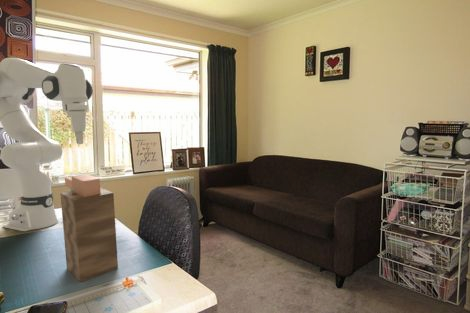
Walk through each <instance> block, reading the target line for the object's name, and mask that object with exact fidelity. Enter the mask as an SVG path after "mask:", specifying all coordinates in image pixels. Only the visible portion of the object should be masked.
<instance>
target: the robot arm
mask: <svg viewBox="0 0 470 313" xmlns="http://www.w3.org/2000/svg"><path fill="white" fill-rule="evenodd" d="M36 89H41V91H42V93H43V95H44V97H46V98H47V100H48V99H49V100H51V101H54V102H55V101H56V102H57V101H58V102H61V107H62V112H63V113H66V116H67V117H68V118H70V122H71V131H72V133H74V134H75V135H74V136H75V141H76V144H78V145H83V144H84V132H85V131H86V126H87V125H86V124H87V122H86V121H87V120H86V119H87V118H86V116H87V114H86V113H88V112H90V108H89V107H90V106H89V100H90V99H91V98H92V96H93V94H94V93H93V92H94V91H93V90H94V89H93V86H92V84H91V83H90V81H89V80H88V79H87V78H86V76H85V72H84V69H83V67H82V66H81V65H78V64H73V63H67V62H66V63H65V62H64V63H60V64H59V65H58V68H57V70H56V71H55V72H54V71H51V70H49V69H47V68H44V67H42V66H40V65H37V64H36V63H33V62H31V61H28V60H25V59H23V58H18V57H6V58H3V59H1V61H0V124H1V126H2V128H3V130H4V131H5V133H6V135H7V136H8V137H9V138H11V139H12V140H15V141H17V142H13V143H11V144H10V143H9V144H7V145H4V146H3V147H2V149H1V150H0V159H1V162H2V163H3V164H4V165H5V166H6V167H8V168H9V169H12V170H13V171H14V172H15V173H16V174H17V175H18V178H19V179H20V183H21V188H22V196H20V197H19V198H18V201H20V203H19V205H18V206H16V207H15V208H14V209H13V210H12V211H10V212H9V215H8V221H7V222H5V223H3V225H2V227H3V228H6V229H11V230H15V231H18V232H19V231H20V232H27V231H32V230H38V229H43V228H47V227H51V226H53V225H56V224H57V223H58V222H59V220H58V217H57V214H56V210H55V207H54V194H53V192H52V185H51V178H50V176H49V175H48V174H46V173H44V172H42V171H40V169H39V166H38V165H44V164H50V163H53V162H56V161H58V160H60V159H61V158H62V155H63V147H62V145H61V143H59V142H58V141H57V140H54V139H52V138H50V137H48V136H47V135H45V134H44V133H42V132H41V131H40V130H39V129H38V128H37V127H36V125H35V124H34V123H33V121H32V119H31V117H30V116H29V114H28V113H27V110H26V109H25V108H24V106H23V104H22V103H23V102H22V100H24V101H27V100H29V97H30V96H32V95H33V94H34V92H35V91H36Z"/></svg>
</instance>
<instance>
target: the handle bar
mask: <svg viewBox="0 0 470 313" xmlns="http://www.w3.org/2000/svg"><path fill="white" fill-rule="evenodd" d="M71 176H72V175H71ZM100 181H101V178H99V177H96V176H93V175H90V174H82V175H81V174H80V175H73V176H72V177H69V176H67V177H64V183H65V184H64V185H65V187H67V188H69V189H70V188H71V189H72V190H73V192H75V193H77V194H79V195H81V196H83V197H87V196H93V195H98V194H101V192H100V188H101V182H100ZM71 189H70V190H71Z"/></svg>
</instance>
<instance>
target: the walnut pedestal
mask: <svg viewBox="0 0 470 313" xmlns="http://www.w3.org/2000/svg"><path fill="white" fill-rule="evenodd" d="M100 192H101V194H98V195H93V196H87V197H83V196H81V195H79V194H77V193H75V192H73V191H71V190H70V191H66V192H60V203H61V214H62V215H61V216H62V226H63V227H62V228H63V236H64V237H63V239H64V251H65V261H66V269H67V271H68V272H70V274H72V276H73V277H75V279H77V280H78V281H79V283H83V282H84V281H88V280H90V279H93V278H95V277H98V276H100V275H103V274H106V273H108V272H111V271H114V270H116V269H118V268H119V264H118V262H119V261H118V249H117V233H116V232H117V231H116V228H117V227H116V216H115V215H116V214H115V197H114V195H115V194H114V192H113V191H110V190H107V189H105V188H102V187H100Z"/></svg>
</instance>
